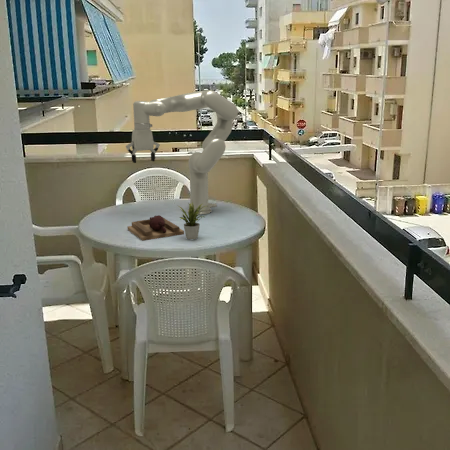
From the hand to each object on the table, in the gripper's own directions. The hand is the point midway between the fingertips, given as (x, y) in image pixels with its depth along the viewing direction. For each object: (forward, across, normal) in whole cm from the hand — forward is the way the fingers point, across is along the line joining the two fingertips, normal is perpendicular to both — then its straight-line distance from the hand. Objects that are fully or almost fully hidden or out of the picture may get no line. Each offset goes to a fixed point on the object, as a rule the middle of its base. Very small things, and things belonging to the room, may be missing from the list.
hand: (143, 161), depth 253 cm
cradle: (+28, +6, +28) cm, 40 cm away
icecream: (+27, +6, +30) cm, 41 cm away
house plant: (+28, -5, +46) cm, 54 cm away
